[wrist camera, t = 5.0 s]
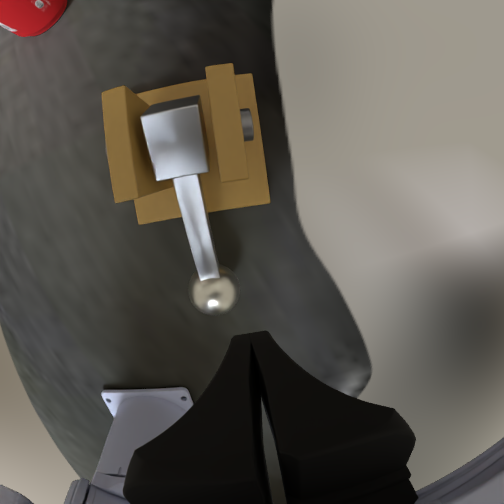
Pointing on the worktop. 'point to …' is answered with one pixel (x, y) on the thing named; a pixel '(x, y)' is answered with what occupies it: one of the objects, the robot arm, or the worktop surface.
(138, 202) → the bracket
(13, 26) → the beverage can
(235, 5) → the worktop surface
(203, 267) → the tap lever
